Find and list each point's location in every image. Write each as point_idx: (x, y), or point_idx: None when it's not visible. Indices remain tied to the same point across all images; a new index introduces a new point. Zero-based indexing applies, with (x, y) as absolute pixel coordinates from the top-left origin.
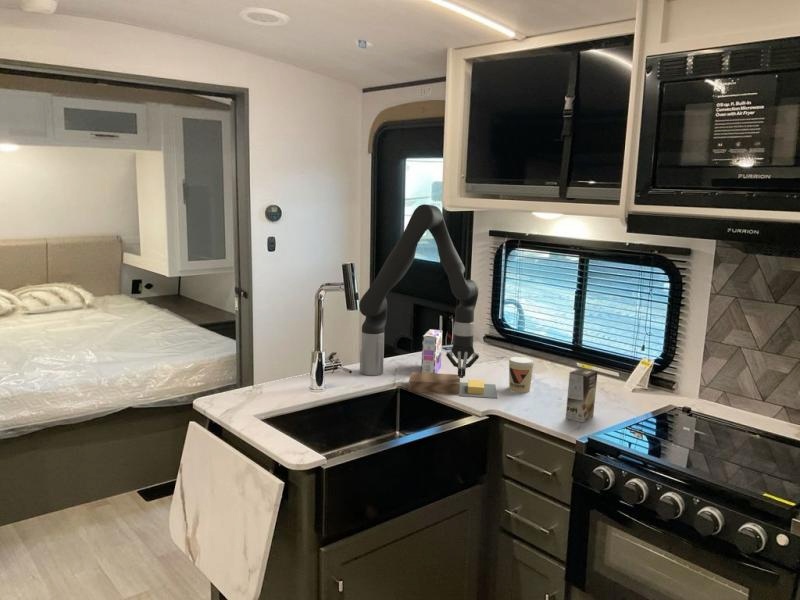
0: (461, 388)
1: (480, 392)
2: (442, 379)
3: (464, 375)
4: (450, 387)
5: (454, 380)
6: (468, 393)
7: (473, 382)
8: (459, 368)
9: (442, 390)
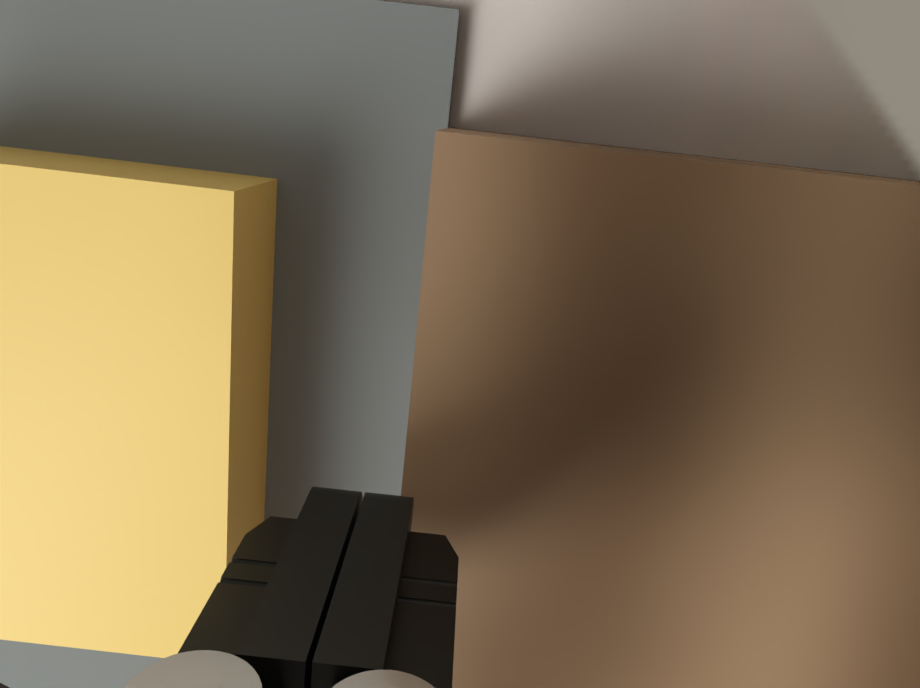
0: (380, 438)
1: (8, 148)
2: (835, 480)
3: (265, 533)
4: (660, 154)
5: (543, 430)
6: (262, 156)
7: (111, 498)
8: (398, 671)
9: (809, 169)
